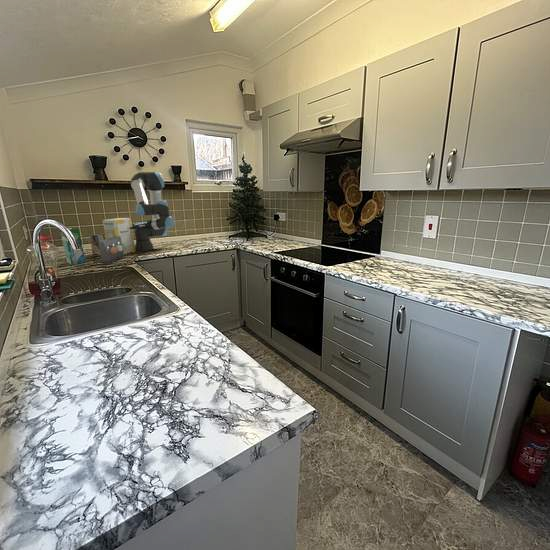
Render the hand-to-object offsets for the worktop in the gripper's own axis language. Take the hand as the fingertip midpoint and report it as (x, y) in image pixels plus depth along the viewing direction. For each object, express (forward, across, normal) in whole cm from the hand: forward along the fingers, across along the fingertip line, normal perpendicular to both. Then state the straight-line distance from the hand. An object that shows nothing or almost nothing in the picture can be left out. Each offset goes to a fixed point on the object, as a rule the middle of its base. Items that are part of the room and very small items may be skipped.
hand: (127, 229), depth 227 cm
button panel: (+11, +10, +22) cm, 27 cm away
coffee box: (+35, -6, +16) cm, 39 cm away
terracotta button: (+1, +17, +18) cm, 25 cm away
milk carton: (+31, +21, +21) cm, 43 cm away
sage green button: (+4, +2, +15) cm, 15 cm away
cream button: (+3, +9, +16) cm, 19 cm away
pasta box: (+20, -13, +17) cm, 29 cm away
